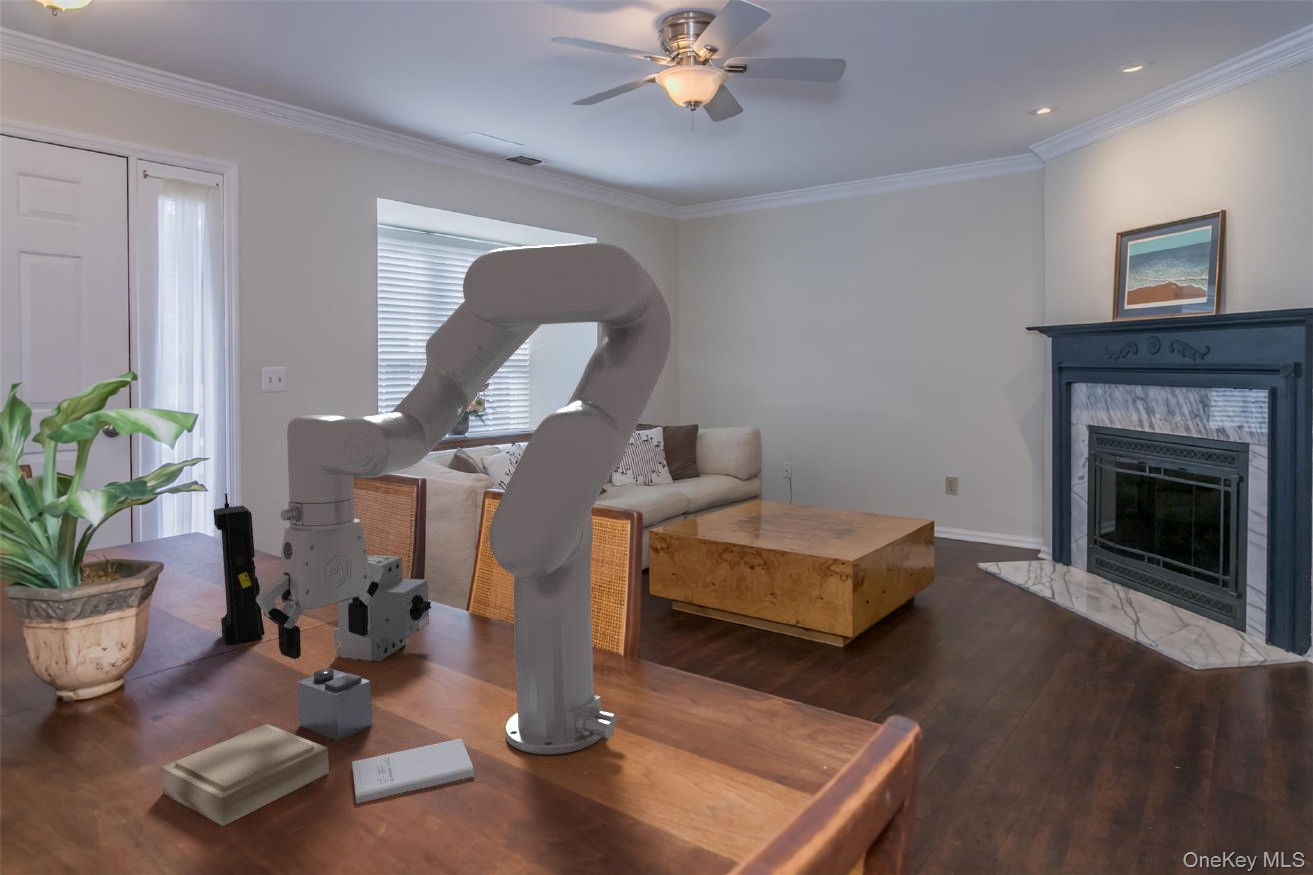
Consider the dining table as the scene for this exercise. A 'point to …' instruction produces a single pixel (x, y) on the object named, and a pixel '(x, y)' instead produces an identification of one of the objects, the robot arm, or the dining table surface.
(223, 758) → the stand
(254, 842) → the dining table surface
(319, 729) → the housing
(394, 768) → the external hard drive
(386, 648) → the circuit breaker
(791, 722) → the dining table surface
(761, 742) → the dining table surface
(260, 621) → the portable radio
